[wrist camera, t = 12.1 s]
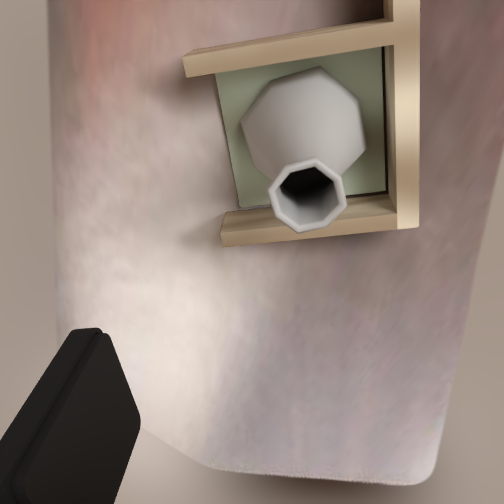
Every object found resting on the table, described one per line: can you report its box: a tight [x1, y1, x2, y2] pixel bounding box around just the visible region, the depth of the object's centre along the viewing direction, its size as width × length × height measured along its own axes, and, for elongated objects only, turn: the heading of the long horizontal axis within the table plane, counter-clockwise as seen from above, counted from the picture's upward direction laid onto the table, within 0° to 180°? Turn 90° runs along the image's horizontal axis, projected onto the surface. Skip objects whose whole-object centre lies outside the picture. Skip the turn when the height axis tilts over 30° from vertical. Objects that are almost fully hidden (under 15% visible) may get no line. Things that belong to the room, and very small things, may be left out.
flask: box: [240, 66, 368, 234], centre depth 24 cm, size 7×7×10 cm
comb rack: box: [182, 0, 420, 247], centre depth 25 cm, size 21×12×3 cm, turn 9°
